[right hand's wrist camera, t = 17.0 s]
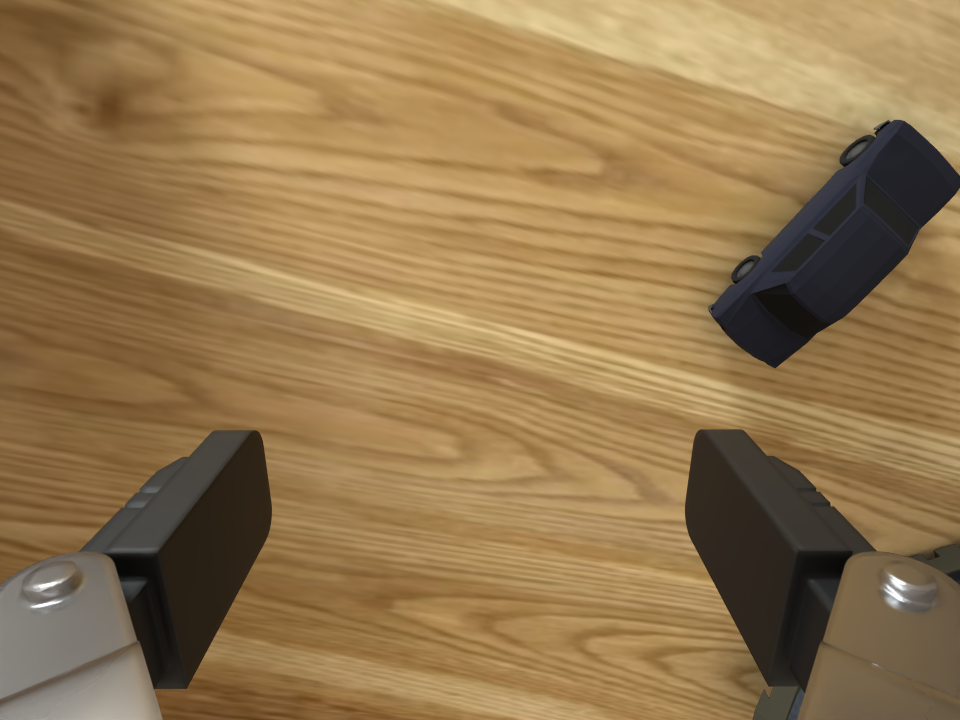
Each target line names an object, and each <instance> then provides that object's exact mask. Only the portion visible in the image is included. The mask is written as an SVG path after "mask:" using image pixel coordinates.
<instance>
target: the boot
mask: <svg viewBox="0 0 960 720" xmlns="http://www.w3.org/2000/svg"><path fill="white" fill-rule="evenodd" d="M934 553H935V556H936V558H934V559H931V560H927V559H926V558H925V557H924V556H923V554H920V555H917V556H913V557H910V558H912V559H915V560H918V561H920V562H923V563H925V564H927V565H929V566H932V567H934V568H935V569H937V570H939V571H941V572H943V573H944V574H946V575H947V576H949V577H950V578H952V579H953V580H954V581H956V582H957V583H958V584H959V585H960V547H958V546H957V545H956V544H954V545H950V546H947V547H944V548H940V549H937V550H934ZM804 695H805V694H804V692H803V690H802V688H801V687H800V686H774V687H773V690H772V692H771V695H770V697H768V696H767V694H766V692H765V690H764V691H763V693H762V695H761V698H760V700H759V702H758V704H757V707H756V709H755V712H754V717H753V720H797V719H798V715H799V712H800V708H801V705H802V702H803V698H804Z"/></svg>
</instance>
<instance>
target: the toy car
mask: <svg viewBox="0 0 960 720" xmlns="http://www.w3.org/2000/svg"><path fill="white" fill-rule="evenodd" d="M879 128H880V129H879ZM877 129H878V130H877ZM874 130H877V131H876V132H875V134H876V135H877V136H876V138H875V137H874V136H872V135H867V136H863V137H861V138H860V139H858V140H856V141H855V142H854V143H852V144H851V145H850V146H849V147H848V148H847V149H846V150H845V151H844V152H843V154H842V155H841V157H840V164H841V165H843V166H844V168H842V169H840V170H839V171H837V172H836V173H835V174H834V175H833V177H832V178H831V179H830V180H829V181H828V182H827V183H826V184H825V185H824V186H823V187H822V188H821V190H820V191H819V192H818V193H817V194H816V195H815V196H814V197H813V198H812V199H811V200H810V201H809V202H808V203H807V204H806V205H805V206H804V207H803V208H802V209H801V211H800V212H799V213H798V214H797V215H796V216H795V217H794V218H793V219H792V220H791V221H790V222H789V223H788V224H787V225H786V227H785V228H784V229H783V230H782V231H781V232H780V233H779V234H778V235H777V236H776V237H775V238H774V239H773V240H772V241H771V243H770V244H769V245H768V246H767V247H766V248H765V249H764V250H763V251H762V252H761V253H762V255H763V256H762V258H760V257H758V256H750V257H748V258H746V259H745V260H743V261H742V262H741V263H740V264H739V265H738V266H737V267H736V268H735V270H734V272H733V273H732V277H731V279H732V280H733V282H734V283H735V284H734V285H730V286H729V287H728V288H727V290H726V291H725V292H724V293H723V294H722V295H721V297H720V298H719V299H718V300H717V301H716V302H715V303H714V304H712V305H709V308H708V310H709V312H710V309H711V311H712V313H711V312H710V313H711V315H712V317H713V318H714V319H715V321H716V322H717V323H718V324H719V325H720V326H721V328H722V329H723V331H724V332H725V333H726V334H727V335H728V336H729V337H730V338H731V339H732V340H733V341H734V342H735V343H736V344H737V345H738V346H739V347H741V348H742V349H744V350H745V351H746V352H748V353H749V354H751V355H752V356H753V357H755V358H757V359H758V360H761V361H763V362H765V363H766V364H768V365H770V366H772V367H774V368H776V367H777V366H779V365H780V364H781V363H782V362H784V361H785V360H786V359H787V358H789V357H790V356H791V355H792V354H794V353H795V352H796V351H798V350H799V349H800V348H801V347H803V346H804V345H805V344H806V343H807V342H808V341H809V340H810V339H811V338H812V337H813V336H814V335H815V334H816V333H818V332H820V331H821V330H823V329H825V328H826V327H828V326H830V325H831V324H833V323H835V322H836V321H838V320H840V319H842V318H843V317H844V316H846V315H847V314H848V313H849V312H850V311H851V310H852V309H853V308H855V307H856V306H857V305H858V304H859V303H860V302H861V301H862V300H863V299H864V298H865V297H866V296H867V295H868V294H869V293H870V292H871V291H872V290H873V289H874V288H875V287H876V286H877V285H878V284H879V283H880V282H881V281H882V280H883V279H884V278H885V277H886V276H887V275H888V274H889V273H890V272H891V271H892V270H893V269H894V268H895V267H896V266H897V265H898V264H899V263H900V262H901V261H902V260H903V258H904V257H905V256H906V255H907V254H908V252H909V250H910V248H911V246H912V244H913V242H914V240H915V238H916V236H917V234H918V232H919V230H920V229H921V228H922V227H923V226H924V225H925V224H926V223H927V222H928V221H929V220H930V219H931V218H932V217H933V216H935V215H936V214H937V213H938V212H939V211H940V210H941V209H942V208H943V207H944V206H945V205H946V203H947V202H948V201H949V200H950V199H951V198H952V197H953V196H954V195H955V194H956V193H957V191H958V190H959V188H960V176H959V174H958V173H957V172H956V171H955V170H954V169H953V167H952V166H951V165H950V164H949V163H948V161H947V160H946V159H945V158H944V157H943V156H942V155H941V154H940V152H939V151H938V150H937V149H936V148H935V147H934V146H933V145H932V144H931V143H929V142H928V141H927V140H926V139H925V138H924V137H923V136H922V135H921V134H920V133H919V132H917V131H916V130H915V129H914V128H913V127H912V126H911V125H909V124H908V123H906V122H905V121H902V120H894V121H892V122H890V121H889V120H888V121H886V122H884V123H882V124H880V125H878V126H877V127H875V128H874Z"/></svg>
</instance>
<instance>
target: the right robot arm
mask: <svg viewBox="0 0 960 720" xmlns="http://www.w3.org/2000/svg"><path fill="white" fill-rule="evenodd" d="M271 517H272V505H271V497H270V489H269V482H268V475H267V468H266V460H265V453H264V446H263V441H262V437H261V435H260V433H259V432H258V431H256V430H216V431H213V432H212V433H211V434H210V435H209V436H208V437H207V438H206V439H205V440H204V441H203V442H202V443H201V445H200V446H199V447H198V448H197V449H196V450H195V451H194V452H193V453H192V454H191V455H190V457H182V458H180V459H178V460H177V461H175V462H173V463H171V464H170V465H168V466H166V467H164V468H163V469H161V470H159V471H157V472H156V473H155V474H154V475H153V476H152V477H151V478H150V479H149V480H148V481H147V482H146V483H145V484H144V485H143V486H142V487H141V488H140V492H139V493H136V494H135V495H134V496H133V497H132V498H131V499H130V500H129V501H128V502H127V503H126V504H125V508H121V509H120V510H119V511H118V512H117V513H116V514H115V515H114V516H113V517H112V518H111V519H110V520H109V521H108V522H107V523H106V524H105V525H104V527H103V528H102V529H101V530H100V531H99V532H98V533H97V534H96V535H95V536H94V537H93V538H92V539H91V540H90V541H89V542H88V543H87V544H86V545H85V546H84V547H83V548H82V549H81V550H80V551H79V552H73V553H67V554H62V555H58V556H54V557H51V558H48V559H45V560H42V561H40V562H37V563H35V564H33V565H31V566H28V567H26V568H25V569H23V570H21V571H19V572H17V573H16V574H14V575H13V576H11V577H10V578H8V579H7V580H6V581H4V582H3V583H2V584H1V585H0V720H163V719H162V715H161V712H160V708H159V705H158V702H157V698H156V695H155V692H154V689H187V687H188V685H189V683H190V682H191V680H192V678H193V676H194V674H195V672H196V670H197V668H198V667H199V665H200V663H201V661H202V659H203V657H204V655H205V653H206V652H207V650H208V648H209V646H210V644H211V642H212V640H213V638H214V637H215V635H216V633H217V631H218V629H219V627H220V625H221V623H222V622H223V620H224V618H225V616H226V614H227V612H228V610H229V609H230V607H231V605H232V603H233V601H234V599H235V597H236V595H237V594H238V592H239V590H240V588H241V586H242V584H243V582H244V580H245V579H246V577H247V575H248V573H249V571H250V569H251V567H252V565H253V564H254V562H255V560H256V558H257V556H258V554H259V552H260V550H261V549H262V547H263V545H264V543H265V541H266V539H267V537H268V534H269V530H270V525H271ZM685 518H686V525H687V530H688V533H689V536H690V538H691V540H692V542H693V544H694V546H695V548H696V550H697V552H698V554H699V555H700V557H701V559H702V561H703V563H704V565H705V567H706V569H707V571H708V573H709V574H710V576H711V578H712V580H713V582H714V584H715V586H716V588H717V590H718V592H719V593H720V595H721V597H722V599H723V601H724V603H725V605H726V607H727V609H728V610H729V612H730V614H731V616H732V618H733V620H734V622H735V624H736V626H737V628H738V629H739V631H740V633H741V635H742V637H743V639H744V641H745V643H746V645H747V647H748V648H749V650H750V652H751V654H752V656H753V658H754V660H755V662H756V664H757V665H758V667H759V669H760V671H761V673H762V675H763V677H764V679H765V681H766V683H767V684H768V686H800V687H801V688H802V690H803V692H804V694H805V695H804V698H803V702H802V705H801V708H800V712H799V715H798V719H797V720H960V585H959V584H958V583H957V582H956V581H954V580H953V579H952V578H950V577H949V576H947V575H946V574H944V573H943V572H941V571H939V570H937V569H935V568H934V567H932V566H929V565H927V564H925V563H923V562H920V561H918V560H915V559H912V558H909V557H906V556H902V555H898V554H893V553H887V552H877V551H876V550H875V549H874V548H873V547H872V546H871V545H870V544H869V542H868V541H867V540H866V539H865V538H864V537H863V536H862V535H861V534H860V533H859V532H858V531H857V530H856V529H855V528H854V527H853V526H852V525H851V524H850V523H849V522H848V521H847V520H846V519H845V518H844V517H843V516H842V514H841V513H840V512H839V511H838V510H837V509H836V508H835V507H831V506H830V502H829V501H828V500H827V499H826V498H825V497H824V496H823V495H822V494H821V493H820V492H817V491H816V487H815V486H814V485H813V484H812V483H811V482H810V481H809V480H808V479H807V478H806V477H805V476H804V475H803V474H802V473H801V472H800V471H799V470H797V469H795V468H794V467H792V466H790V465H788V464H787V463H785V462H783V461H781V460H780V459H778V458H776V457H775V456H767V455H766V454H765V453H764V452H763V451H762V450H761V449H760V448H759V447H758V446H757V444H756V443H755V442H754V441H753V440H752V439H751V438H750V437H749V436H748V434H747V433H746V432H745V431H743V430H699V431H698V432H697V433H696V436H695V439H694V443H693V450H692V457H691V465H690V472H689V480H688V487H687V494H686V502H685Z"/></svg>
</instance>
